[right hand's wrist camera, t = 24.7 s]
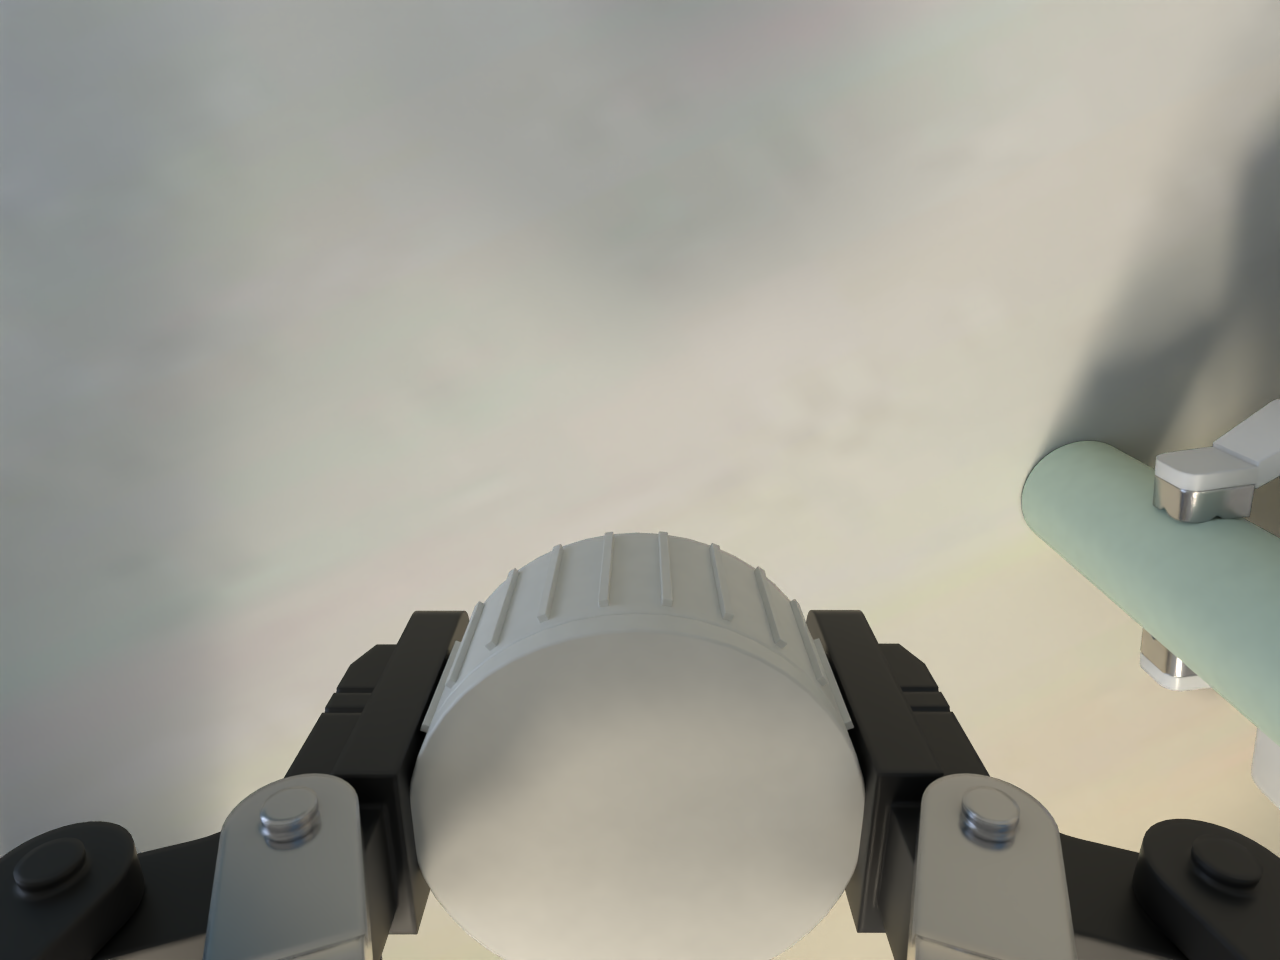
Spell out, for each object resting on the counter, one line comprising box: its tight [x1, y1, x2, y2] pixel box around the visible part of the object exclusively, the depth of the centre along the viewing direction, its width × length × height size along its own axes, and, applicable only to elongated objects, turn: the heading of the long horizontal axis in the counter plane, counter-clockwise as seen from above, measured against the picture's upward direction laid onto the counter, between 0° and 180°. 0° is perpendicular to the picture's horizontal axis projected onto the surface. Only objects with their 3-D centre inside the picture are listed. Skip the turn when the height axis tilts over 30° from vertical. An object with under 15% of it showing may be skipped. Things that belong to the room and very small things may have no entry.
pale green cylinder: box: [1022, 441, 1280, 747], centre depth 21 cm, size 4×4×19 cm
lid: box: [410, 532, 865, 960], centre depth 10 cm, size 5×5×2 cm
